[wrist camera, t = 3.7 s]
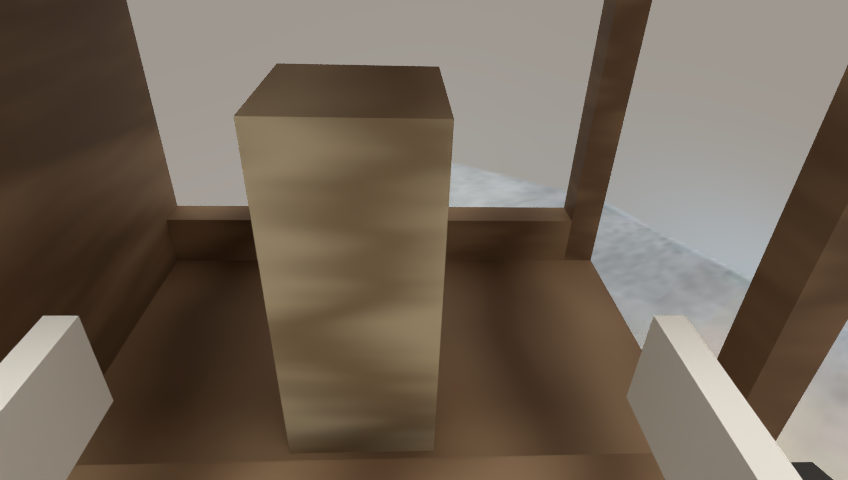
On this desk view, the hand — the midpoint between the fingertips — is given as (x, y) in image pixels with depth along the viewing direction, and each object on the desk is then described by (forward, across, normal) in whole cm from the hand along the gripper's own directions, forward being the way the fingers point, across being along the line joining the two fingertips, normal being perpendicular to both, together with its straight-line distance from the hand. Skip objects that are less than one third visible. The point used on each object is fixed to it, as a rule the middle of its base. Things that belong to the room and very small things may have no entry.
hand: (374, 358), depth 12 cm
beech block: (+5, -1, -7) cm, 9 cm away
